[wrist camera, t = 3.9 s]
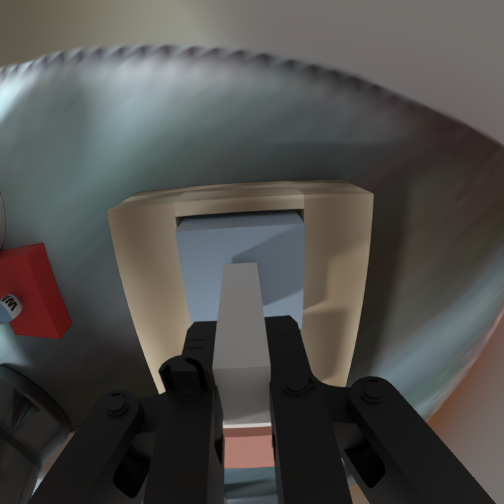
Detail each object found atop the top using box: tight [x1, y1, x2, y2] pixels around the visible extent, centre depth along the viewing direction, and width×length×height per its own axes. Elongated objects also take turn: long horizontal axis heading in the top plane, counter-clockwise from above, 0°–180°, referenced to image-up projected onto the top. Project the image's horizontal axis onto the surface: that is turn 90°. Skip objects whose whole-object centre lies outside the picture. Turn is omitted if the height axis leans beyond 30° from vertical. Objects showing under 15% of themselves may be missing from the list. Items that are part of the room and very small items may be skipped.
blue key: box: [175, 209, 305, 329], centre depth 15 cm, size 6×6×3 cm
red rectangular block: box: [0, 243, 72, 339], centre depth 18 cm, size 8×7×6 cm
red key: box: [223, 426, 274, 468], centre depth 19 cm, size 6×6×3 cm
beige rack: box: [107, 180, 374, 394], centre depth 20 cm, size 14×22×5 cm, turn 3°
